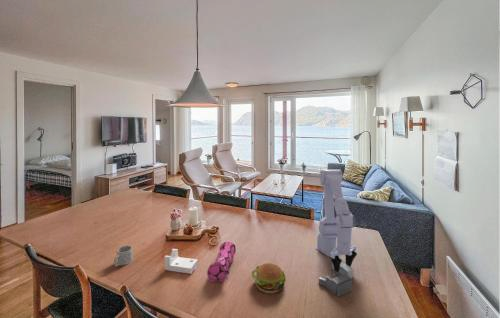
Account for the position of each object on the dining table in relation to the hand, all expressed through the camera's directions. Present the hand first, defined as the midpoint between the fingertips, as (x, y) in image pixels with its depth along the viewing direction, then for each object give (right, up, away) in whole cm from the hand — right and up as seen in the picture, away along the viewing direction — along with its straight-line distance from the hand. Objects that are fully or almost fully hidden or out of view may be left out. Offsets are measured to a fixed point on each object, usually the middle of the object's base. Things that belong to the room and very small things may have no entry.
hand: (342, 268), depth 106 cm
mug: (-104, -2, +8) cm, 105 cm away
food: (-34, -4, -7) cm, 35 cm away
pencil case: (-55, -2, +4) cm, 55 cm away
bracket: (-74, -2, +4) cm, 74 cm away
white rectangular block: (0, -2, 0) cm, 2 cm away
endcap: (-6, -4, -9) cm, 12 cm away
